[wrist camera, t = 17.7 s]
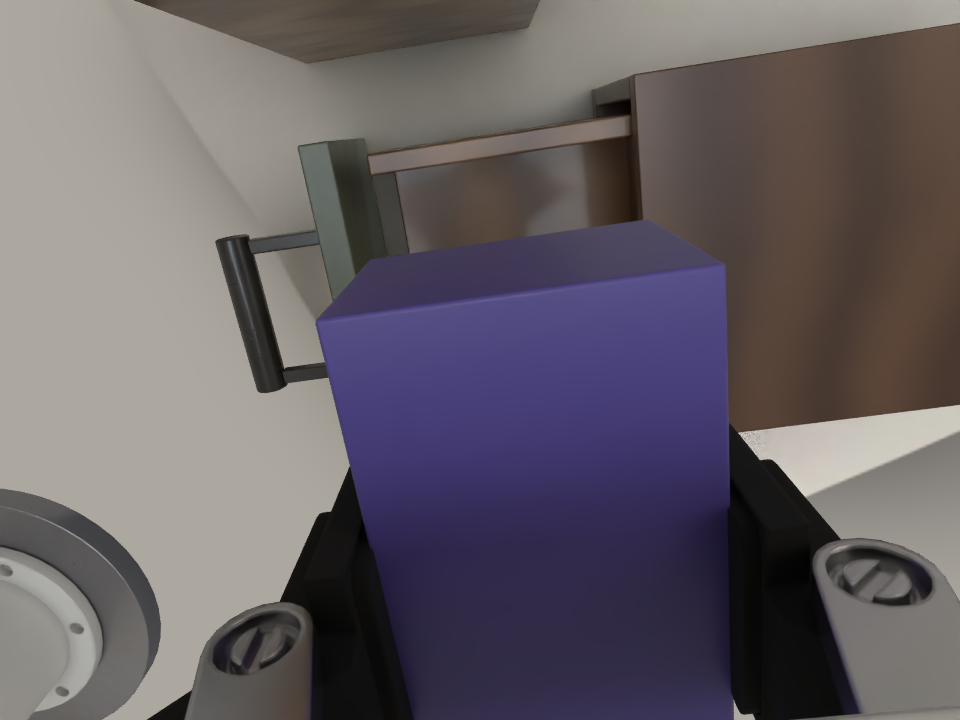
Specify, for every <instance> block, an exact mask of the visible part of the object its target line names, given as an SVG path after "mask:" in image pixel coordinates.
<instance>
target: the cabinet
mask: <svg viewBox="0 0 960 720" xmlns="http://www.w3.org/2000/svg"><path fill="white" fill-rule="evenodd" d="M592 98H593V110H594V118H598V117H604V116H611V115H617V114H624V113H630V112H632V128H633V144H634V160H635V176H636V192H637V208H638V221H640V220H650V221H652V222H654V223H656V224H657V225H659V226H661V227H663V228H664V229H666V230H668V231H669V232H671V233H673V234H675V235H676V236H678V237H680V238H681V239H683V240H685V241H687V242H688V243H690V244H692V245H694V246H695V247H697V248H699V249H700V250H702V251H704V252H706V253H707V254H709V255H711V256H712V257H714V258H716V259H718V260H719V261H721V262H723V263H724V264H725V266H726V304H727V361H728V417H729V423H730V424H731V425H732V426H733V428H734V429H735V430H736V431H737V432H746V431H754V430H762V429H770V428H778V427H786V426H794V425H802V424H810V423H818V422H826V421H834V420H842V419H850V418H858V417H866V416H874V415H882V414H890V413H898V412H906V411H914V410H922V409H930V408H938V407H946V406H954V405H960V23H956V24H950V25H944V26H937V27H931V28H925V29H918V30H912V31H906V32H899V33H893V34H887V35H880V36H874V37H868V38H861V39H855V40H849V41H842V42H836V43H830V44H823V45H817V46H811V47H804V48H798V49H792V50H785V51H779V52H773V53H766V54H760V55H754V56H747V57H741V58H735V59H728V60H722V61H716V62H709V63H703V64H697V65H690V66H684V67H678V68H671V69H665V70H659V71H652V72H646V73H640V74H634V75H632V76H629V77H627V78H624V79H621V80H619V81H616V82H613V83H610V84H608V85H605V86H602V87H600V88H597V89H594V90H592Z"/></svg>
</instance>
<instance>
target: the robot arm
mask: <svg viewBox="0 0 960 720" xmlns="http://www.w3.org/2000/svg"><path fill="white" fill-rule="evenodd" d="M729 474H730V508H727V512H728V565H729V617H730V670H731V694H732V696H733V699H734V701H735V703H736V706H737V708H738V710H739V712H740V713H741V714H744V715H745V714H753V715H754V717H755V720H960V601H959V599H958V597H957V596H956V594H955V592H954V591H953V589H952V587H951V586H950V584H949V582H948V581H947V579H946V577H945V576H944V575H943V574H942V573H941V572H940V570H939V569H938V568H937V567H936V566H935V565H934V564H933V563H932V562H930V561H929V560H927V559H926V558H924V557H923V556H921V555H920V554H918V553H916V552H914V551H912V550H909V549H907V548H905V547H903V546H900V545H897V544H893V543H889V542H885V541H882V540H874V539H865V538H855V539H854V538H853V539H840V538H839V537H838V535H837V534H836V533H835V532H834V531H833V529H832V528H831V527H830V526H829V525H828V524H827V522H826V521H825V520H824V519H823V518H822V517H821V515H820V514H819V513H818V512H817V511H816V510H815V508H814V507H813V506H812V505H811V504H810V502H809V501H808V500H807V499H806V498H805V497H804V495H803V494H802V493H801V492H800V491H799V489H798V488H797V487H796V486H795V485H794V484H793V482H792V481H791V480H790V479H789V478H788V477H787V475H786V474H785V473H784V472H783V471H782V469H781V468H780V467H779V466H778V465H777V464H776V463H775V462H774V461H773V460H769V459H766V460H759V458H758V457H757V456H756V455H755V453H754V452H753V451H752V450H751V449H750V447H749V446H748V445H747V444H746V442H745V441H744V440H743V439H742V437H741V436H740V435H739V434H738V432H737V431H736V430H735V429H734V428H733V426H732V425H731V424H730V423H729ZM102 647H103V639H102V632H101V627H100V624H99V621H98V619H97V616H96V613H95V611H94V610H93V608H92V607H91V605H90V603H89V602H88V600H87V598H86V597H85V596H84V595H83V594H82V592H81V591H80V590H79V589H78V588H77V587H76V586H75V585H74V584H73V583H72V582H71V581H70V580H69V579H67V578H66V577H65V576H64V575H63V574H61V573H60V572H59V571H57V570H56V569H54V568H53V567H51V566H49V565H48V564H46V563H44V562H43V561H41V560H39V559H36V558H34V557H32V556H29V555H27V554H25V553H22V552H18V551H15V550H11V549H7V548H4V547H0V720H28V719H29V717H30V716H31V715H32V713H33V712H36V711H41V710H47V709H50V708H53V707H55V706H58V705H61V704H63V703H65V702H66V701H68V700H69V699H71V698H73V697H74V696H76V695H77V694H78V693H79V692H80V690H81V689H82V688H83V687H84V686H85V685H86V684H87V682H88V681H89V680H90V678H91V677H92V675H93V674H94V672H95V671H96V669H97V667H98V664H99V662H100V659H101V656H102ZM147 720H414V718H413V714H412V710H411V706H410V702H409V698H408V693H407V689H406V685H405V681H404V677H403V673H402V668H401V664H400V660H399V656H398V652H397V648H396V644H395V639H394V635H393V631H392V627H391V623H390V619H389V614H388V610H387V606H386V602H385V598H384V594H383V589H382V585H381V581H380V577H379V573H378V569H377V564H376V560H375V556H374V552H373V549H370V546H369V542H368V538H367V534H366V530H365V526H364V521H363V517H362V513H361V509H360V505H359V501H358V497H357V492H356V488H355V484H354V480H353V476H352V472H351V468H350V467H349V469H348V472H347V474H346V477H345V479H344V481H343V484H342V486H341V489H340V491H339V494H338V496H337V499H336V501H335V503H334V506H333V508H332V511H331V512H324V513H321V514H319V515H318V517H317V519H316V521H315V523H314V525H313V527H312V529H311V532H310V534H309V536H308V538H307V541H306V543H305V545H304V547H303V550H302V552H301V554H300V557H299V559H298V561H297V564H296V566H295V568H294V570H293V572H292V575H291V577H290V579H289V581H288V584H287V586H286V588H285V590H284V593H283V595H282V597H281V600H280V602H275V603H269V604H263V605H260V606H257V607H254V608H252V609H249V610H246V611H244V612H243V613H241V614H239V615H237V616H235V617H234V618H232V619H230V620H229V621H228V622H227V623H226V624H224V625H223V626H222V627H220V628H219V629H218V630H217V631H216V632H215V633H214V634H213V636H212V637H211V638H210V640H208V642H207V643H206V645H205V647H204V649H203V652H202V654H201V656H200V660H199V664H198V668H197V672H196V676H195V680H194V684H193V688H192V690H191V691H190V692H188V693H187V694H185V695H184V696H182V697H181V698H179V699H178V700H176V701H174V702H173V703H171V704H170V705H169V706H167V707H165V708H164V709H162V710H161V711H160V712H158V713H156V714H155V715H153V716H152V717H150V718H149V719H147Z"/></svg>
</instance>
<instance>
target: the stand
mask: <svg viewBox="0 0 960 720" xmlns="http://www.w3.org/2000/svg"><path fill="white" fill-rule="evenodd" d="M135 1H137V2H140V3H143V4H145V5H148V6H151V7H154V8H156V9H159V10H162V11H165V12H167V13H170V14H173V15H176V16H178V17H181V18H184V19H187V20H189V21H192V22H195V23H197V24H200V25H203V26H206V27H208V28H211V29H214V30H217V31H219V32H222V33H225V34H228V35H230V36H233V37H236V38H238V39H241V40H244V41H247V42H249V43H252V44H255V45H258V46H260V47H263V48H266V49H269V50H271V51H274V52H277V53H279V54H282V55H285V56H288V57H290V58H293V59H296V60H299V61H301V62H304V63H312V62H318V61H324V60H330V59H336V58H342V57H348V56H354V55H361V54H367V53H373V52H379V51H385V50H391V49H397V48H403V47H409V46H416V45H422V44H428V43H434V42H440V41H446V40H452V39H458V38H464V37H471V36H477V35H483V34H489V33H495V32H501V31H507V30H513V29H519V28H526V27H529V25H530V22H531V20H532V18H533V15H534V13H535V10H536V8H537V5H538V3H539V1H540V0H135Z"/></svg>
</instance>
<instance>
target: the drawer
mask: <svg viewBox="0 0 960 720" xmlns="http://www.w3.org/2000/svg"><path fill="white" fill-rule="evenodd" d="M298 151H299V156H300V160H301V164H302V169H303V173H304V177H305V182H306V186H307V191H308V195H309V199H310V204H311V208H312V212H313V217H314V221H315V226H316V229H314V230H308V231H301V232H294V233H287V234H281V235H274V236H267V237H261V238H254V239H251V240H250V238H249V235H246V234H245V235H237V236H230V237H225V238H222V239H218V240H217V241H216V242H215V243H216V246H217V250H218V253H219V257H220V260H221V264H222V268H223V271H224V274H225V278H226V282H227V285H228V289H229V292H230V296H231V299H232V303H233V306H234V310H235V314H236V317H237V321H238V324H239V328H240V331H241V335H242V338H243V342H244V345H245V349H246V352H247V356H248V360H249V363H250V366H251V370H252V374H253V377H254V381H255V384H256V387H257V391H258V392H260V393H269V392H274V391H277V390H280V389H282V388H284V387H285V386H287V384H288V383H291V382H299V381H306V380H314V379H321V378H329V377H328V373H327V368H326V364H325V362H324V363H316V364H309V365H302V366H294V367H287V368H285V369H284V366H283V362H282V358H281V354H280V351H279V347H278V343H277V339H276V336H275V332H274V328H273V325H272V320H271V317H270V313H269V309H268V305H267V302H266V298H265V294H264V290H263V286H262V283H261V279H260V275H259V271H258V268H257V264H256V260H255V256H254V254H258V253H264V252H272V251H278V250H285V249H292V248H299V247H306V246H313V245H319V244H320V247H321V252H322V256H323V261H324V265H325V269H326V274H327V278H328V282H329V287H330V291H331V295H332V300H333V301H334V300H335V299H336V297H337V296H338V295H339V294H340V293H341V292H342V291H343V290H344V289H345V287H346V286H347V285H348V284H349V283H350V282H351V281H352V280H353V279H354V277H355V276H356V275H357V274H358V273H359V272H360V271H361V270H362V268H363V267H364V266H365V265H366V264H367V263H368V262H369V261H370V260H371V259H376V258H383V257H387V253H386V248H385V243H384V238H383V233H382V228H381V223H380V218H379V212H378V207H377V202H376V197H375V192H374V187H373V182H372V177H371V175H372V176H375V175H381V174H388V173H394V174H395V180H396V185H397V190H398V196H399V201H400V207H401V212H402V218H403V223H404V229H405V234H406V240H407V245H408V250H409V254H411V253H418V252H425V251H432V250H439V249H446V248H453V247H460V246H466V245H473V244H480V243H487V242H494V241H501V240H508V239H515V238H522V237H529V236H536V235H543V234H550V233H557V232H563V231H570V230H577V229H584V228H591V227H598V226H605V225H612V224H619V223H626V222H633V221H638V208H637V192H636V176H635V160H634V144H633V128H632V112H630V113H624V114H617V115H611V116H604V117H598V118H591V119H585V120H579V121H572V122H566V123H559V124H553V125H546V126H540V127H533V128H527V129H520V130H514V131H507V132H501V133H494V134H488V135H481V136H475V137H468V138H462V139H456V140H449V141H443V142H436V143H430V144H423V145H417V146H410V147H404V148H397V149H392V150H387V151H382V152H378V153H373V154H368V155H367V151H366V146H365V141H364V139H350V140H337V141H325V142H319V143H312V144H306V145H299V146H298Z"/></svg>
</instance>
